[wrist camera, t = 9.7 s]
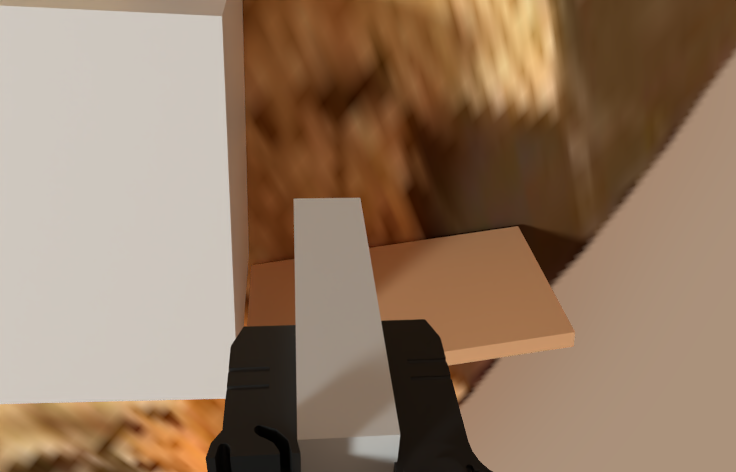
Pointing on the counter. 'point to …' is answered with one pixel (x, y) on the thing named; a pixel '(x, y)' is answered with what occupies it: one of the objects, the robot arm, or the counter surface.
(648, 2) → the counter surface
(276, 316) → the side door
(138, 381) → the block
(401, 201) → the counter surface
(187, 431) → the counter surface
